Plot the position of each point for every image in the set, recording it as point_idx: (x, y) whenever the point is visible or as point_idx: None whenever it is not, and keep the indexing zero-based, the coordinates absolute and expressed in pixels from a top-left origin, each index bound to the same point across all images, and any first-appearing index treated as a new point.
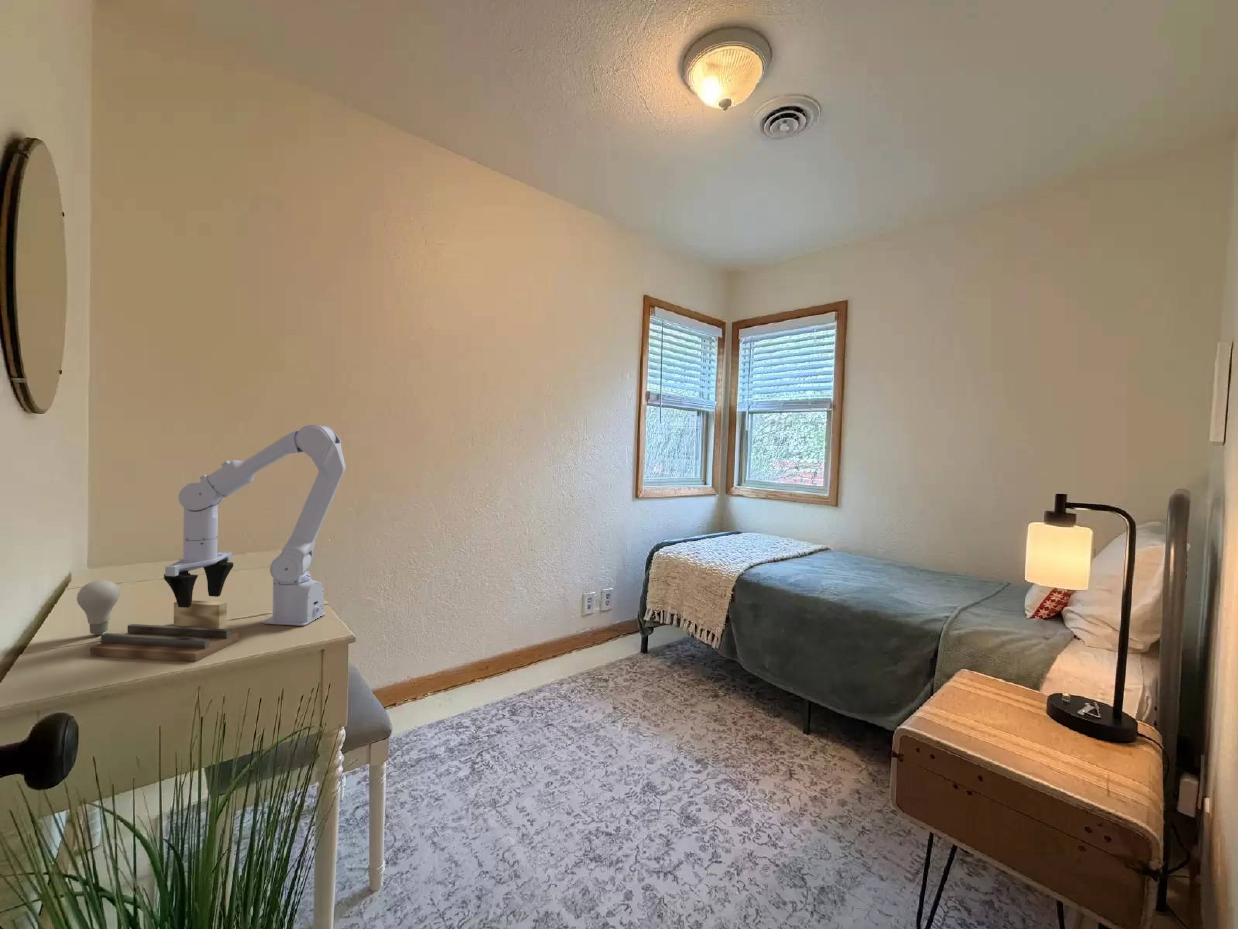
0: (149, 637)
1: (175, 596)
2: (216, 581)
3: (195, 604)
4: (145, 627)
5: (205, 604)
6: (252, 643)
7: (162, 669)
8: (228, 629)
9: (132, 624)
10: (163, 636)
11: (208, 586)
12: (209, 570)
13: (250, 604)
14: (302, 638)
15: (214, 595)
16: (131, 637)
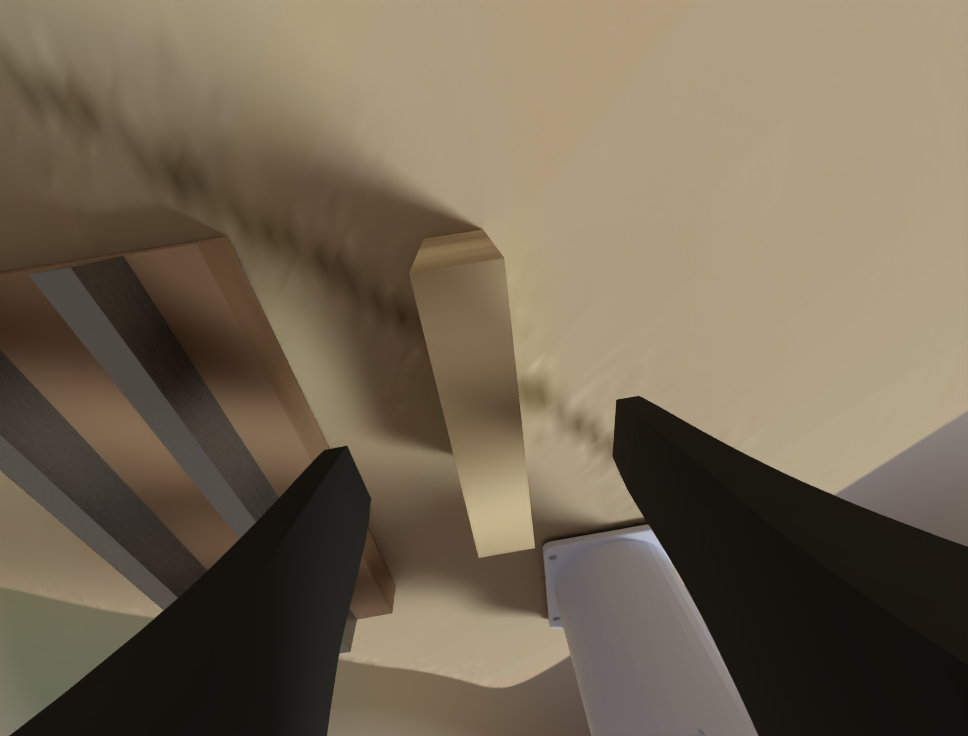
0: (95, 544)
1: (259, 525)
2: (697, 555)
3: (451, 443)
4: (132, 397)
5: (464, 499)
6: (398, 616)
7: (141, 598)
8: (347, 647)
9: (65, 282)
10: (150, 571)
11: (668, 448)
12: (855, 680)
13: (815, 309)
14: (472, 657)
15: (617, 442)
16: (20, 481)
